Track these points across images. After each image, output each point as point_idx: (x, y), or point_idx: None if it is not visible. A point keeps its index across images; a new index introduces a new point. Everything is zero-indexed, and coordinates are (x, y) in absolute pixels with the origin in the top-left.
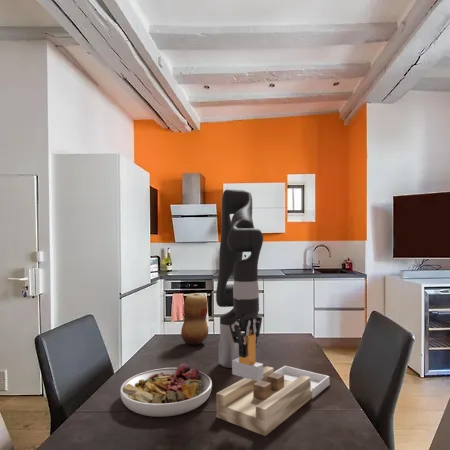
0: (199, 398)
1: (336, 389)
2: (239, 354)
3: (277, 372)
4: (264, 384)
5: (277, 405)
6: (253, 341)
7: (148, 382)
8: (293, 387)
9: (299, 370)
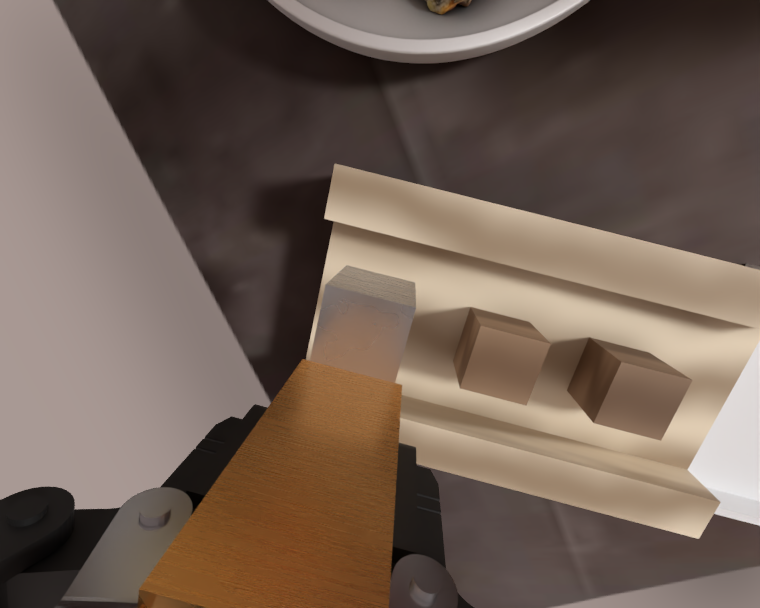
0: (362, 50)
1: (755, 540)
2: (223, 424)
3: None
4: (496, 380)
5: None
6: None
7: None
8: (540, 489)
9: None
